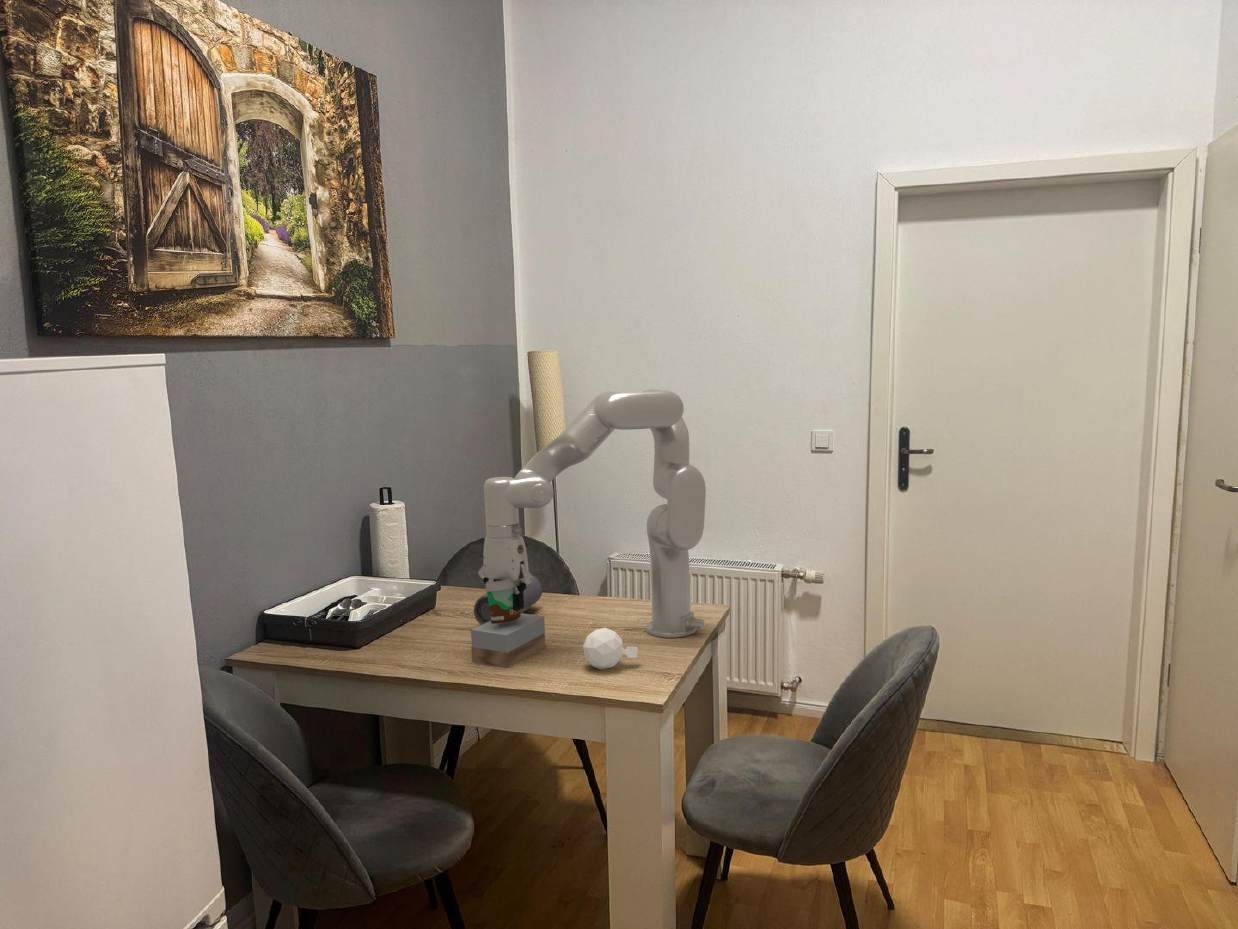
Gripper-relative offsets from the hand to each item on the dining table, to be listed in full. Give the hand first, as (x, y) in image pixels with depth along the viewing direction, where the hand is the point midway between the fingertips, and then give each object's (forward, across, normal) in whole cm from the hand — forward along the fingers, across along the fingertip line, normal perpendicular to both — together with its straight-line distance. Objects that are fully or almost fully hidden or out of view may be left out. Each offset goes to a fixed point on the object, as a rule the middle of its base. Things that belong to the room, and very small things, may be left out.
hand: (507, 606), depth 199 cm
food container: (+3, -1, 0) cm, 3 cm away
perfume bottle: (+12, -26, -3) cm, 28 cm away
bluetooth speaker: (+12, +17, -22) cm, 30 cm away
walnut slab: (+12, 0, 0) cm, 12 cm away
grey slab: (+8, 0, 0) cm, 8 cm away
